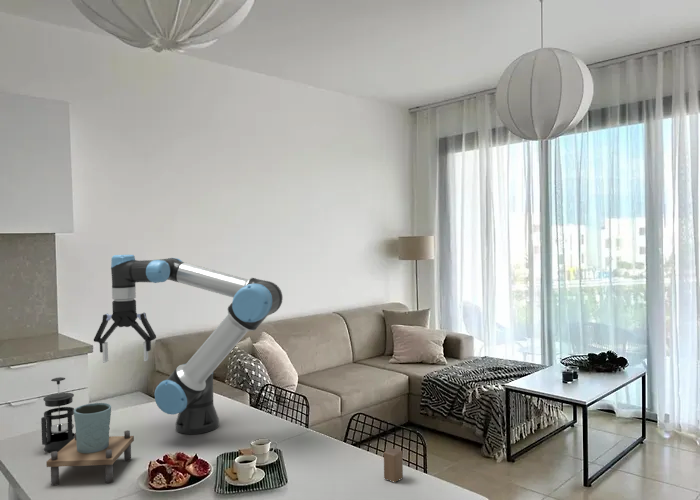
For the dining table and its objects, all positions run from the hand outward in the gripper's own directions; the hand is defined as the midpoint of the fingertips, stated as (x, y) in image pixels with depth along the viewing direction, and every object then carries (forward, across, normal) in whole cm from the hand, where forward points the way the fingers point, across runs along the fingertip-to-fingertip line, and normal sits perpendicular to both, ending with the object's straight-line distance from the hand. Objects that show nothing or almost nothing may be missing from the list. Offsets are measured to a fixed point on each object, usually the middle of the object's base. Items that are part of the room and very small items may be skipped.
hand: (125, 361), depth 189 cm
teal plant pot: (+20, +1, +27) cm, 33 cm away
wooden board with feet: (+27, +2, +27) cm, 38 cm away
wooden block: (+27, -86, +41) cm, 99 cm away
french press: (+27, +20, +6) cm, 34 cm away
